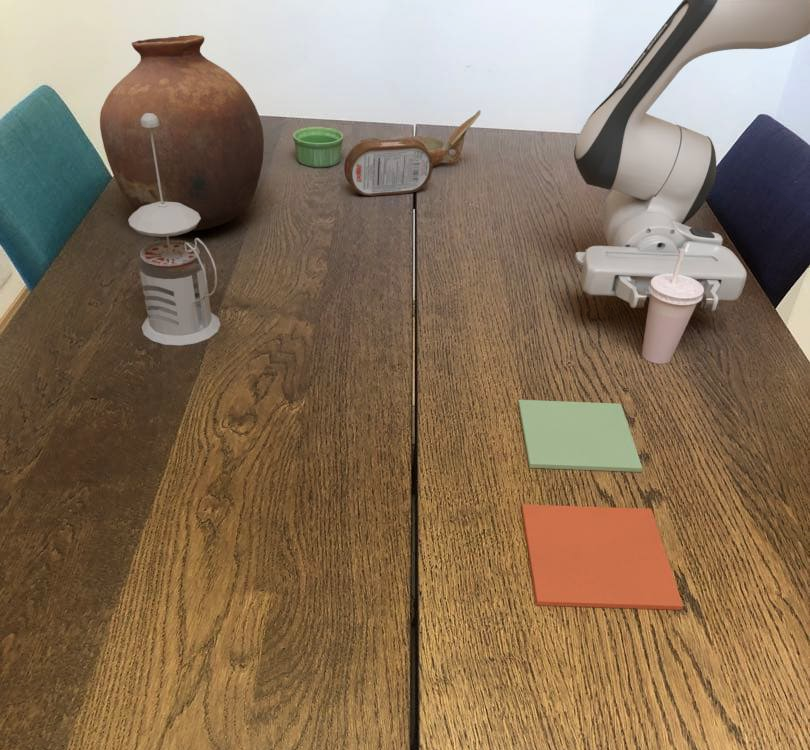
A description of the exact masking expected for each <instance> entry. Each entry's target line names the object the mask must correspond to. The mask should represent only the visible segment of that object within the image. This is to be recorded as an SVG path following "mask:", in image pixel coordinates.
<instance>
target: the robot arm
mask: <svg viewBox="0 0 810 750" xmlns="http://www.w3.org/2000/svg"><path fill="white" fill-rule="evenodd" d="M809 35H810V0H682V1H681V2H680V4H679V5H678V6H677V7H676V9H675V10H674V11H673V12H672V14H671V15H670V16H669V17H668V18H667V20H666V21H665V22H664V24H662V26H661V27H660V28H659V30H658V31H657V32H656V34H655V35H654V37H653V38H652V39H651V40H650V42H649V43H648V44H647V46H646V47H645V48H644V50H643V51H642V53H641V54H640V55H639V57H638V58H637V59H636V61H635V62H634V63H633V65H632V66H631V67H630V69H628V71H627V72H626V73H625V75H624V77H623V78H622V79H621V80H620V81H619V83H618V84H617V85H616V87H615V88H613V91H611V93H610V94H609V95H608V96H607V97H606V98H605V99H604V100H603V101H602V102H601V103H600V104H599V105H598V106H597V107H596V108H595V109H594V110H593V111H592V113H591V114H590V116H589V117H588V118H587V120H586V121H585V124H583V126H582V128H581V130H580V132H579V133H578V137H577V140H576V142H575V146H574V149H573V150H574V151H573V159H574V162H575V165H576V167H577V170H578V172H579V174H580V176H581V177H582V180H583V181H584V182H585V184H586V185H588V186H593V187H597V188H600V189H605V190H611V192H610V193H609V194H608V195H607V197H606V199H605V201H604V203H603V206H602V214H601V224H602V231H603V235H604V239H605V242H606V244H607V245H591V246H589V247H588V248H585V249H584V250H583V251H577V252H575V254H574V260H575V263H576V265H577V266H578V267H579V268H581V272H580V284H581V288H582V291H583V292H584V293H587V294H588V295H591V296H607V297H617V298H619V299H621V300H623V301H625V302H626V303H628V304H629V306H630V308H632V309H635V308H636V309H644V307H645V302H646V301H647V298H650V292H649V285H650V282H651V279H652V278H653V277H655V276H657V275H660V274H674V270H675V267H676V263H677V260H678V257H679V253H680V250H681V249H685V253H684V257H683V260H682V264H681V267H680V270H679V275H684V276H687V277H690V278H692V279H694V280H696V281H698V282H699V283H700V284H701V285H702V286H703V288H704V292H703V295H702V296H703V297H702V300H701V301H700V302H699V304H698V305H699V307H700V308H701V311H702V312H703V311H705V312H715V311H716V309H717V306H718V303H719V301H721V302H722V301H723V302H735V301H736V300H737V299H739V298H740V296H741V294H742V292H743V290H744V287H745V286H746V285H745V284H746V282H747V277H748V276H747V275H748V274H747V270H746V268H745V267H744V265H743V264H742V262H741V260H740V259H739V258H738V257H737V256H736V254H735V253H734V252H733V251H732V250H731V249H730V248H728V247H726V246H724V245H723V241H724V239H723V236H722V235H721V234H719V233H717V232H712V231H709V230H704V229H700V228H695V227H691V226H688V225H686V224H687V223H688V222H689V221H690V220H691V219H692V218H693V217H695V215H696V214H697V213H698V212H699V210H700V209H701V208H702V206H703V205H704V204H705V202H706V200H707V199H708V197H709V196H710V193H711V191H712V189H713V186H714V184H715V181H716V177H717V154H716V149H715V146H714V143H713V140H712V138H710V137H709V136H708V135H704V134H702V133H700V132H698V131H695V130H692V129H690V128H687V127H685V126H682V125H679V124H674V123H672V122H669V121H667V120H665V119H662V118H660V117H656V116H653V115H651V114H649V113H647V112H648V111H649V110H650V109H651V108H652V106H653V105H654V104H655V102H656V101H657V100H658V98H659V97H660V96H661V95H662V94H663V92H664V91H665V90H666V89H667V88H668V86H669V85H670V84H671V82H673V80H674V79H675V78H676V76H677V75H678V74H679V73H680V71H681V70H682V69H683V68H684V67H685V66H687V64H689V63H690V62H692V61H693V60H695V59H697V58H699V57H701V56H704V55H707V54H710V53H715V52H716V53H717V52H722V51H730V50H731V51H732V50H767V49H768V50H769V49H774V48H779V47H783V46H786V45H787V46H788V45H790V44H792V43H795V42H798V41H800V40H801V39H804V38H805V37H807V36H809Z"/></svg>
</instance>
